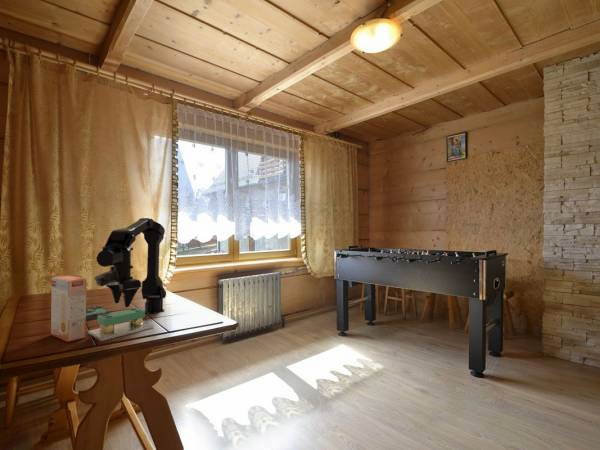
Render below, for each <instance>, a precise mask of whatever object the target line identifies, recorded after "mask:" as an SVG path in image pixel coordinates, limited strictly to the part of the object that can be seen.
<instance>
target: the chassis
mask: <svg viewBox="0 0 600 450" xmlns="http://www.w3.org/2000/svg"><path fill="white" fill-rule="evenodd" d="M143 318H144V317H143ZM143 318H139V319H134V320H130V321H126V322H121V323H117V324H113V325H108V326H103V325H101V324H99V328H96V329H91V330H88V335H90V336H91V337H93V338H95V339H96V340H98V341H99V342H104V341H107V340H111V338H112V339H114V338H115V337H116V338H118V337H122V336H126V335H130V334H134V333H139V332H143V331H146V330H149V329H153V328H154V327H155V325H154V324H152V323H151V322H147V321H145V320H143Z"/></svg>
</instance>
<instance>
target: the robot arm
mask: <svg viewBox="0 0 600 450" xmlns="http://www.w3.org/2000/svg"><path fill="white" fill-rule="evenodd" d="M165 230H166V229H165V227H164V226H163V225H162V224H161V223H159V222H158V221H155V220H154V219H153V218H150V217H142V218H139V219H138V220H136V221H134V222H133V223H132V224H130V225H128V226H127V227H123V228H116V229H113V230H112V231H111V232H110V234H109V236H108V238H107V240H106V243H105V244H104V246H103V247H102V250H100V251H99V252H98V254H97V256H96V263H97V264H98V265H99V266H100V267H104V268H105V267H107V268H108V267H110V268H109V271H105V272H103V273H101V274H98V275H96V276H94V280H95V282H96V285H97V286H99V287H104V286H105V287H106V288H108V289H109V290H110V291H111V294H112V298H113V300H114V304H119V303H120V300H121V297H122V295H123V300H124V301H123V303H124V307H125V308H129V307H130V306H131V303H132V301H133V299H134V298H135V295H136V294H137V292H138V290H140V291H141V296H142V300H145V302H144V310H145V313H147V314H150V315H151V314H156V313H160V312H161V313H163V312H165V309H164V306H163V305H164V304H163V303H164V300H163V299H166V297H167V291H166V289H165V287H164V286H163V280H162V279H161V277H160V244H161V243H162V242H163V240H164V238H165V234H166V233H165V232H166V231H165ZM140 234H143V239H144V241H145V242H146V244H147V259H146V261H147V262H146V277H145V279H144V280H142V282H141V280H139V279H136V278H134V277H133V276H132V274H131V273H132V271H131V270H132V269H134V265H132V264H131V261H132V259H131V258H132V253H131V252H132V251H134V248H133V247H132V246H131V245H133V243H134V242H135V241H136V240H137V239H136V237H137V236H139V235H140ZM140 288H141V289H140Z"/></svg>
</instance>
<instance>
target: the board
mask: <svg viewBox="0 0 600 450" xmlns="http://www.w3.org/2000/svg"><path fill="white" fill-rule="evenodd" d="M145 317H146V312H145V309H142V308H139V307H134V308H129V309H125V310H120V311H116V312H110V313H109V314H104V315H99V316H97V318H96V320H97V322H96V323H97V324H99V325H100V324H101V325H103V326H108V325H113V324H114V325H116V324H121V323H125V322H129V321H130V320H134V319H139V318H145Z"/></svg>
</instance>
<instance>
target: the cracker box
mask: <svg viewBox="0 0 600 450" xmlns="http://www.w3.org/2000/svg"><path fill="white" fill-rule="evenodd" d="M50 301H51V305H50V306H51V307H50V308H51V313H50V314H51V316H50V317H51V318H50V319H51V321H50V335H51V336H53V337H55V338H58V339H59V340H62V341H65V342H67V343H69V342H73V341H77V340H81V339H84V338H86V337H87V336H86V333H87V332H86V331H87V329H86V328H87V325H86V323H87V322H86V308H87V278H83V277H78V276H73V275H62V276H61V275H60V276H55V277H51V300H50Z"/></svg>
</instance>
